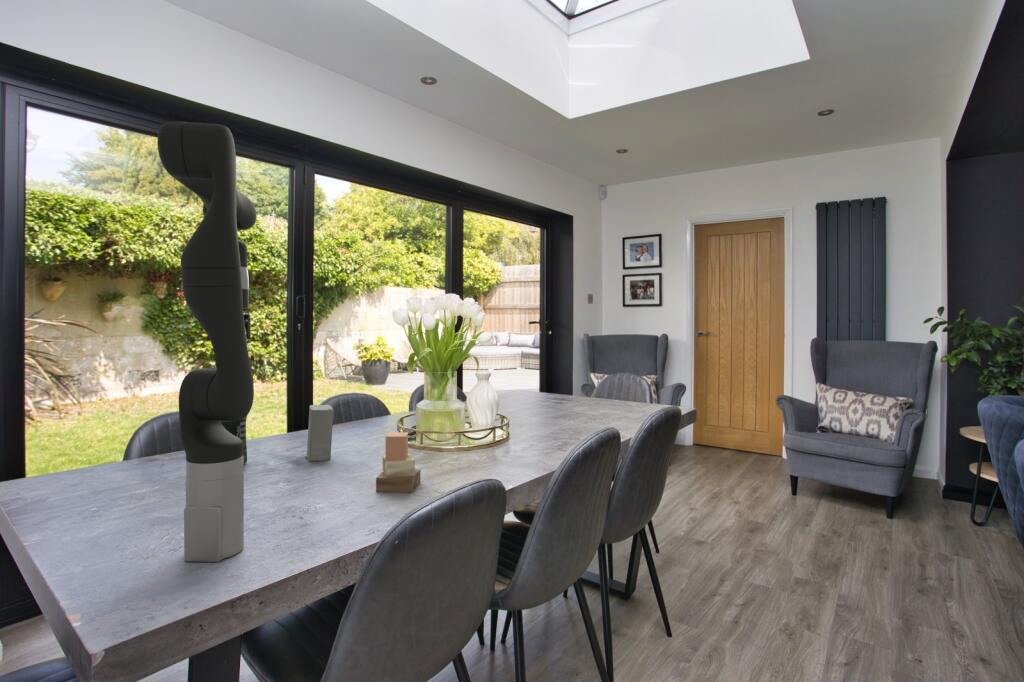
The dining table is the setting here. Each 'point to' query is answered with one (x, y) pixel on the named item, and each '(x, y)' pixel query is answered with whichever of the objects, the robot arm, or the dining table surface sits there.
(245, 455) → the coffee jar
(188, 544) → the robot arm
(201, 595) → the dining table surface
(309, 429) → the skincare box
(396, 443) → the peach cube on top
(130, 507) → the dining table surface
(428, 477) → the dining table surface
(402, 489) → the tower base
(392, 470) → the tower middle
